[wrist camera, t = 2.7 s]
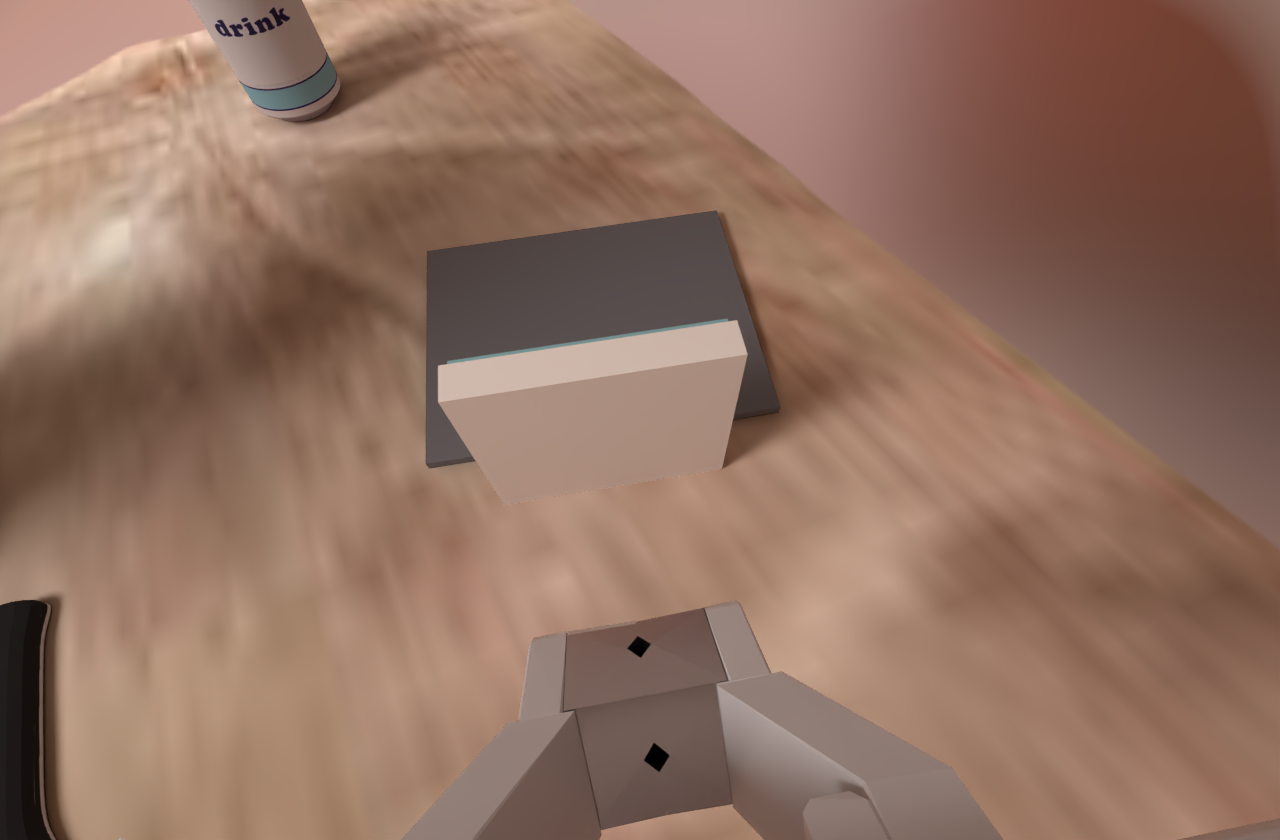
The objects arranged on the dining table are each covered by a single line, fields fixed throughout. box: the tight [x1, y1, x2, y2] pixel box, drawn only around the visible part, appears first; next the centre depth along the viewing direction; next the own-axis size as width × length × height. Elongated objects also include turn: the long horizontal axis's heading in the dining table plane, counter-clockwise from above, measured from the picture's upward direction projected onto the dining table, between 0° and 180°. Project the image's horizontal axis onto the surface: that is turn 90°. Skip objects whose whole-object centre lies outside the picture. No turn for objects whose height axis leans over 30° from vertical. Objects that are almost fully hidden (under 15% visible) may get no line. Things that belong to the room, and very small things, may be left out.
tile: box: [438, 319, 748, 505], centre depth 28 cm, size 2×12×11 cm, turn 99°
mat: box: [426, 211, 780, 468], centre depth 37 cm, size 16×20×1 cm
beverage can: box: [189, 0, 340, 122], centre depth 45 cm, size 7×7×12 cm
